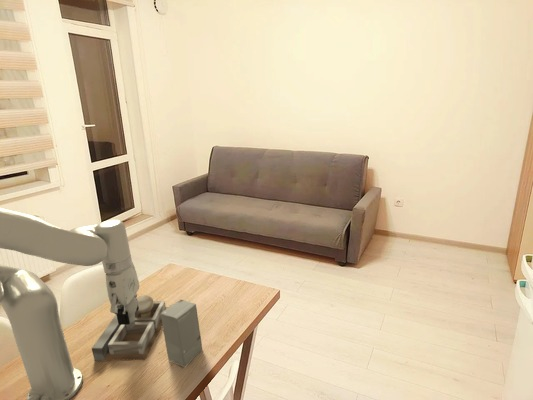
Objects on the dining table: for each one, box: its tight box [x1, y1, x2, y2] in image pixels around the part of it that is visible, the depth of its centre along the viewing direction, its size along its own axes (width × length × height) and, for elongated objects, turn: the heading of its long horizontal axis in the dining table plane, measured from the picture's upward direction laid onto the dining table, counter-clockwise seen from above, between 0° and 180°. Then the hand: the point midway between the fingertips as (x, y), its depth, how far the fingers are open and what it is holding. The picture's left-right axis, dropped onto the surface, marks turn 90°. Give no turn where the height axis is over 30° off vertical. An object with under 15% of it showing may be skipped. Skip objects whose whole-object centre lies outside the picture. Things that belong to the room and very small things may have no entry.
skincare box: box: [160, 299, 203, 368], centre depth 97 cm, size 8×7×16 cm
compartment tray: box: [91, 294, 169, 362], centre depth 108 cm, size 24×15×10 cm, turn 178°
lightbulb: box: [118, 297, 138, 328], centre depth 101 cm, size 6×6×11 cm
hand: (129, 316), depth 101 cm, fingers closed on lightbulb, 5 cm apart
